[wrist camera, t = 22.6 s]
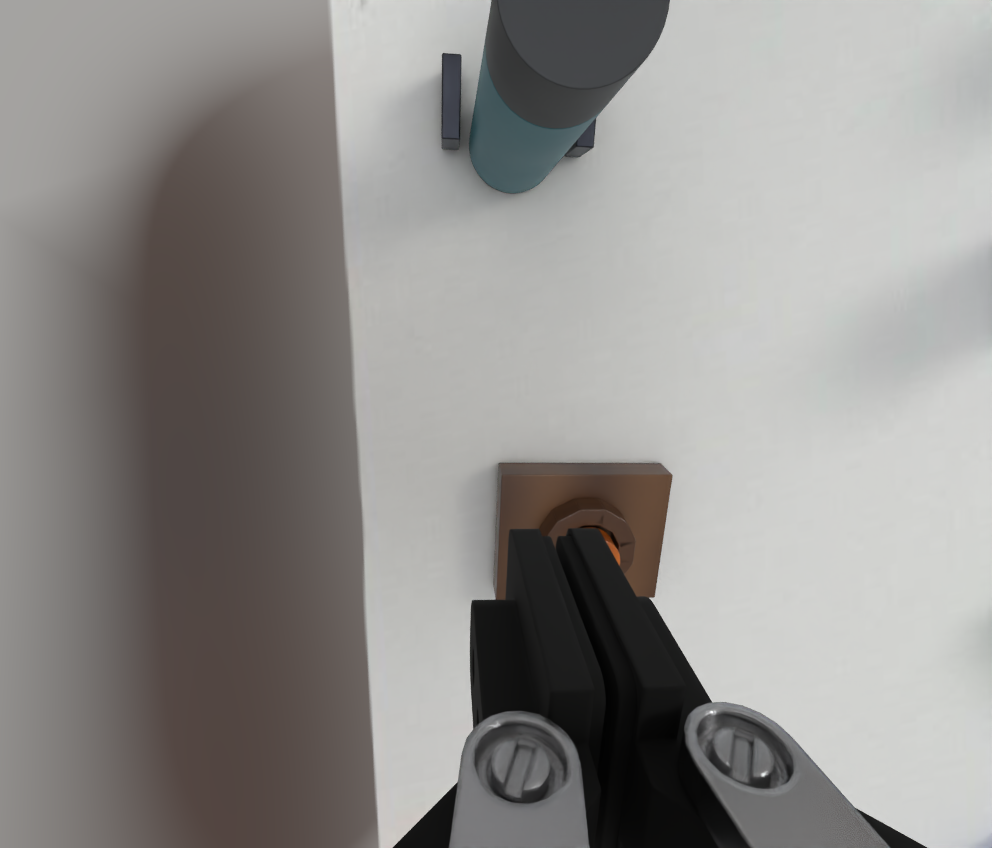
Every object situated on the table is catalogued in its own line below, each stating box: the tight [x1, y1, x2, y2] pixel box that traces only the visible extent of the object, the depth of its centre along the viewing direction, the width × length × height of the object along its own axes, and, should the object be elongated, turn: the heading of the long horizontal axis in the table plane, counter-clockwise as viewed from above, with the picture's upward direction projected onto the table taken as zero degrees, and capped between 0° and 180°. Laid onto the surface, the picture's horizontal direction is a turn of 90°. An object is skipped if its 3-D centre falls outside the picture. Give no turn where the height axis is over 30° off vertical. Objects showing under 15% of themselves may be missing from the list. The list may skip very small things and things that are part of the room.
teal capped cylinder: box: [469, 0, 670, 193], centre depth 24 cm, size 5×17×5 cm
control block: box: [494, 463, 672, 600], centre depth 39 cm, size 12×10×4 cm
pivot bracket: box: [442, 53, 596, 157], centre depth 30 cm, size 8×4×3 cm, turn 88°
